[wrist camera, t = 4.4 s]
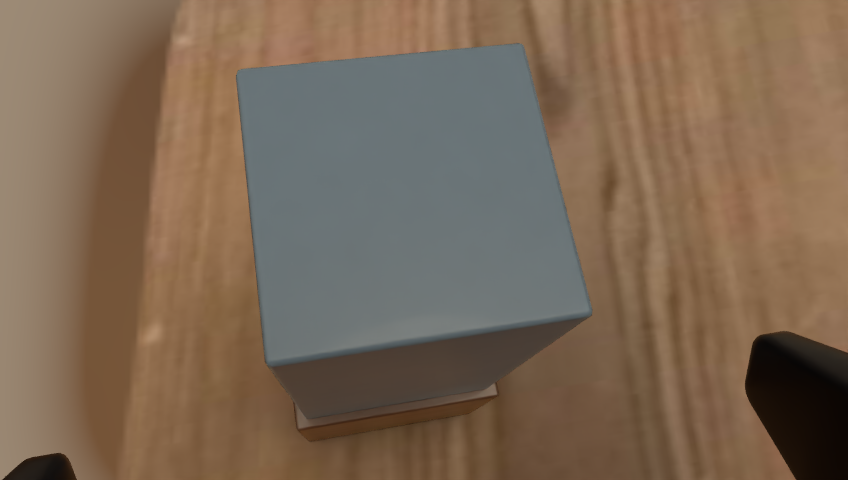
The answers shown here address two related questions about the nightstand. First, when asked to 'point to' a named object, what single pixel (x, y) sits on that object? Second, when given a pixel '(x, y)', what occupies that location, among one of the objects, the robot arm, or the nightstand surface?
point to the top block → (404, 225)
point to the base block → (392, 414)
